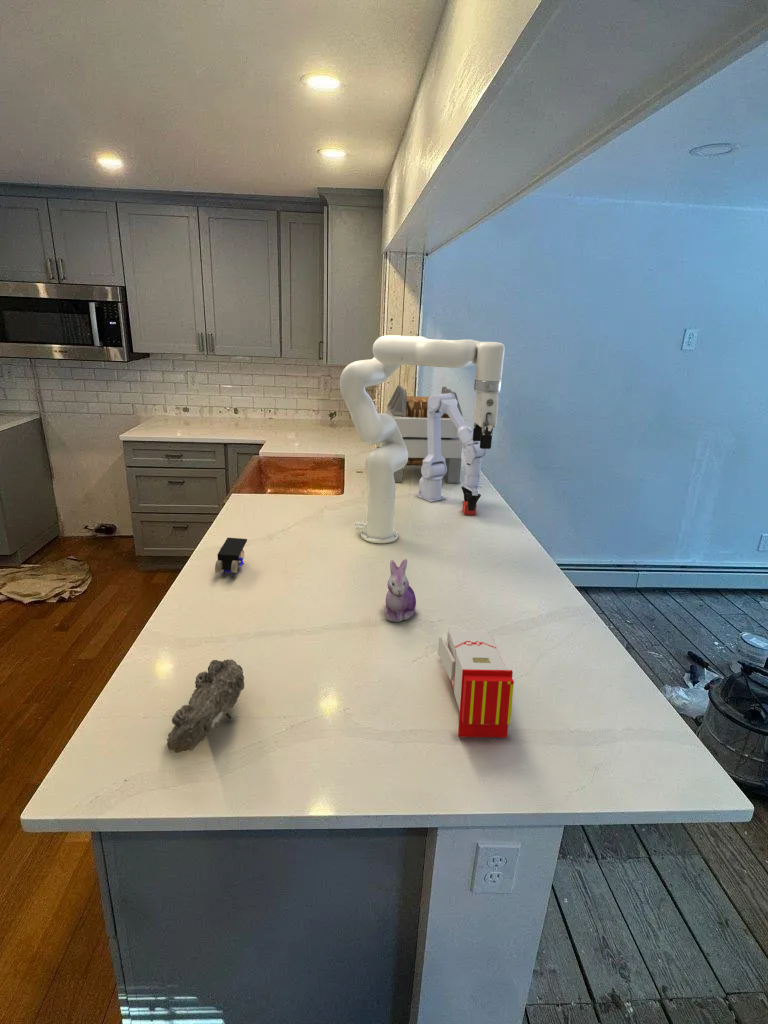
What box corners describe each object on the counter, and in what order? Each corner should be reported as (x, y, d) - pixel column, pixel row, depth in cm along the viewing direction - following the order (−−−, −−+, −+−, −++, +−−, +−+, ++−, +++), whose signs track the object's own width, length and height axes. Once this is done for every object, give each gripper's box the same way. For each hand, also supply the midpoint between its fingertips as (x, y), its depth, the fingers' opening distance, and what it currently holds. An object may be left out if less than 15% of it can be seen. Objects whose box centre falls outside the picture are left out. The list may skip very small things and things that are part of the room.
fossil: (192, 660, 117) (244, 628, 112) (224, 691, 120) (276, 661, 115) (142, 746, 98) (202, 712, 93) (182, 779, 101) (242, 748, 96)
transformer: (382, 463, 289) (386, 382, 275) (445, 464, 293) (451, 384, 279) (390, 482, 257) (394, 392, 243) (460, 483, 261) (468, 394, 247)
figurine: (392, 627, 141) (395, 572, 136) (374, 608, 149) (376, 556, 144) (425, 619, 145) (429, 566, 140) (405, 601, 154) (408, 550, 149)
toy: (488, 613, 130) (523, 677, 101) (484, 667, 133) (517, 744, 104) (435, 612, 130) (455, 676, 101) (432, 666, 133) (451, 743, 103)
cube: (475, 515, 222) (476, 505, 220) (464, 514, 221) (465, 504, 220) (473, 511, 226) (474, 501, 224) (462, 511, 226) (462, 501, 224)
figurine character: (238, 584, 162) (249, 557, 175) (236, 562, 158) (247, 536, 172) (215, 584, 161) (227, 556, 175) (212, 561, 158) (225, 535, 171)
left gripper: (508, 391, 156) (501, 452, 162) (492, 383, 172) (486, 438, 178) (481, 390, 155) (475, 451, 161) (468, 382, 171) (463, 438, 177)
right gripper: (487, 479, 212) (483, 513, 216) (478, 469, 225) (475, 501, 230) (468, 479, 211) (465, 513, 216) (461, 468, 225) (458, 501, 229)
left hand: (481, 444), depth 169 cm, fingers open, 9 cm apart
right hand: (469, 507), depth 223 cm, fingers open, 6 cm apart
